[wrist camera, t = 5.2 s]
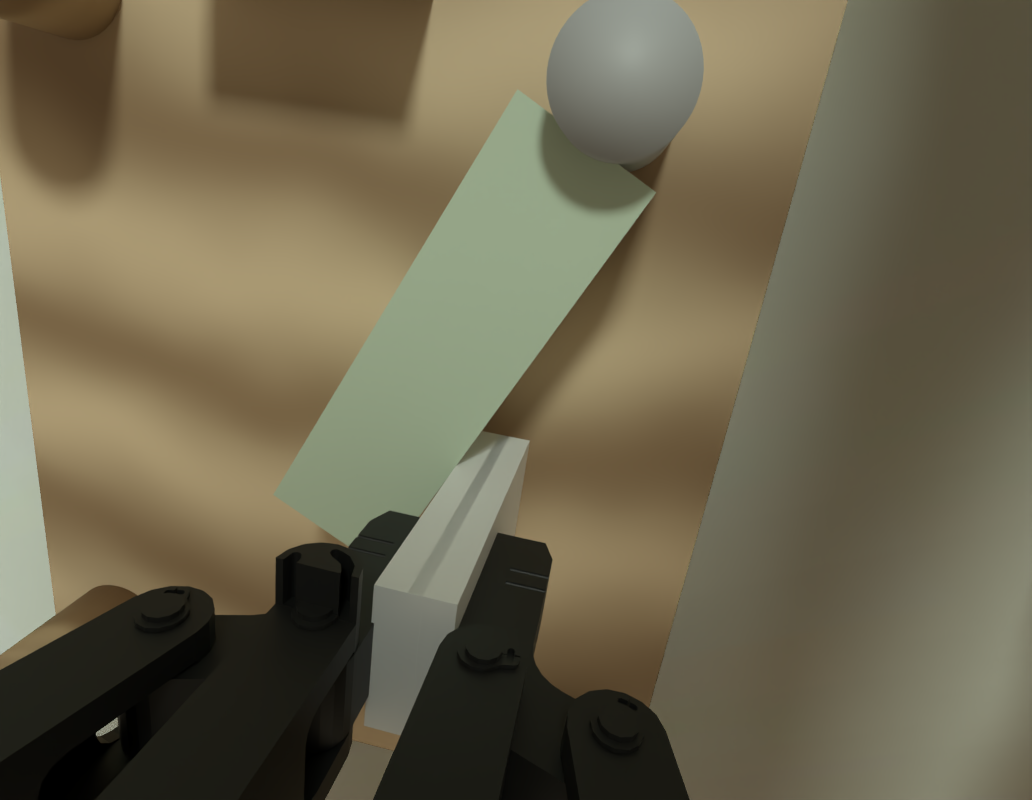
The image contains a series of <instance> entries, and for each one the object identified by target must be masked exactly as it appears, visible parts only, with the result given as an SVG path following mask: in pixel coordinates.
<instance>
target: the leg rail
mask: <svg viewBox="0 0 1032 800" xmlns="http://www.w3.org/2000/svg"><path fill="white" fill-rule="evenodd" d="M703 73H704V58H703V51H702V46H701V42H700V39H699V35H698V33H697V31H696V29H695V26H694V24H693V23H692V21H691V20H690V18H689V16H688V15H687V14H686V13H685V11H684V10H683V9H682V8H681V7H680V6H679V5H678V4H677V3H675V2H674V1H673V0H588V1H587V2H585V3H584V4H583V5H582V6H580V7H579V8H578V9H577V10H576V11H575V12H574V13H573V14H572V15H571V16H570V17H569V19H568V20H567V21H566V23H565V24H564V25H563V27H562V28H561V30H560V32H559V34H558V36H557V37H556V39H555V42H554V44H553V47H552V49H551V53H550V56H549V60H548V66H547V76H546V86H547V96H548V100H549V105H550V108H551V111H552V114H553V115H552V114H550V113H549V112H548V111H546V110H545V109H544V108H542V107H541V106H540V105H538V104H537V103H536V102H534V101H533V100H531V99H530V98H529V97H527V96H526V95H525V94H523V93H522V92H521V91H519V90H518V89H517V91H516V92H515V94H514V96H513V97H512V99H511V101H510V102H509V104H508V106H507V107H506V109H505V111H504V112H503V114H502V116H501V117H500V119H499V121H498V122H497V124H496V126H495V127H494V129H493V131H492V132H491V134H490V136H489V137H488V139H487V141H486V142H485V144H484V146H483V147H482V149H481V151H480V152H479V154H478V156H477V157H476V159H475V161H474V162H473V164H472V166H471V167H470V169H469V171H468V172H467V174H466V175H465V177H464V179H463V180H462V182H461V184H460V185H459V187H458V189H457V190H456V192H455V194H454V195H453V197H452V199H451V200H450V202H449V204H448V205H447V207H446V209H445V210H444V212H443V214H442V215H441V217H440V219H439V220H438V222H437V224H436V225H435V227H434V229H433V230H432V232H431V234H430V235H429V237H428V239H427V240H426V242H425V244H424V245H423V247H422V249H421V250H420V252H419V253H418V255H417V257H416V258H415V260H414V262H413V263H412V265H411V267H410V268H409V270H408V272H407V273H406V275H405V277H404V278H403V280H402V282H401V283H400V285H399V287H398V288H397V290H396V292H395V293H394V295H393V297H392V298H391V300H390V302H389V303H388V305H387V307H386V308H385V310H384V312H383V313H382V315H381V317H380V318H379V320H378V322H377V323H376V325H375V327H374V328H373V330H372V332H371V333H370V335H369V336H368V338H367V340H366V341H365V343H364V345H363V346H362V348H361V350H360V351H359V353H358V355H357V356H356V358H355V360H354V361H353V363H352V365H351V366H350V368H349V370H348V371H347V373H346V375H345V376H344V378H343V380H342V381H341V383H340V385H339V386H338V388H337V390H336V391H335V393H334V395H333V396H332V398H331V400H330V401H329V403H328V405H327V406H326V408H325V410H324V411H323V413H322V414H321V416H320V418H319V419H318V421H317V423H316V424H315V426H314V428H313V429H312V431H311V433H310V434H309V436H308V438H307V439H306V441H305V443H304V444H303V446H302V448H301V449H300V451H299V453H298V454H297V456H296V458H295V459H294V461H293V463H292V464H291V466H290V468H289V469H288V471H287V473H286V474H285V476H284V478H283V479H282V481H281V483H280V484H279V486H278V488H277V489H276V491H275V493H274V494H273V495H274V496H276V497H277V498H279V499H280V500H281V501H283V502H284V503H286V504H287V505H289V506H290V507H292V508H293V509H295V510H296V511H297V512H299V513H300V514H302V515H303V516H305V517H306V518H308V519H309V520H311V521H312V522H313V523H315V524H316V525H318V526H319V527H321V528H322V529H324V530H325V531H327V532H328V533H329V534H331V535H332V536H334V537H335V538H337V539H338V540H340V541H341V542H343V543H344V544H345V545H347V546H348V547H349V545H350V544H351V543H352V541H353V540H354V539H355V538H356V537H358V534H359V533H360V532H361V531H362V530H363V528H364V527H365V526H366V525H367V524H368V522H369V521H370V520H372V519H374V518H376V517H378V516H380V515H382V514H384V513H386V512H388V511H395V512H399V513H404V514H408V515H413V516H417V517H419V516H420V515H421V513H422V512H423V510H424V509H425V508H426V506H427V505H428V504H429V502H430V501H431V500H432V498H433V497H434V495H435V494H436V493H437V491H438V490H439V489H440V487H441V486H442V485H443V483H444V482H445V480H446V479H447V478H448V476H449V475H450V473H451V472H452V471H453V469H454V468H455V466H456V465H457V464H458V463H459V461H460V460H461V459H462V457H463V456H464V454H465V453H466V452H467V450H468V449H469V448H470V446H471V445H472V444H473V442H474V441H475V439H476V438H477V437H478V435H479V434H480V433H481V431H482V430H483V429H484V427H485V426H486V424H487V423H488V422H489V420H490V419H491V418H492V416H493V415H494V413H495V412H496V411H497V409H498V408H499V407H500V405H501V404H502V403H503V401H504V400H505V398H506V397H507V396H508V394H509V393H510V392H511V390H512V389H513V388H514V386H515V385H516V383H517V382H518V381H519V379H520V378H521V377H522V375H523V374H524V372H525V371H526V370H527V368H528V367H529V366H530V364H531V363H532V362H533V360H534V359H535V357H536V356H537V355H538V353H539V352H540V351H541V349H542V348H543V347H544V345H545V344H546V342H547V341H548V340H549V338H550V337H551V336H552V334H553V333H554V331H555V330H556V329H557V327H558V326H559V325H560V323H561V322H562V321H563V319H564V318H565V316H566V315H567V314H568V312H569V311H570V310H571V308H572V307H573V306H574V304H575V303H576V301H577V300H578V299H579V297H580V296H581V295H582V293H583V292H584V290H585V289H586V288H587V286H588V285H589V284H590V282H591V281H592V280H593V278H594V277H595V275H596V274H597V273H598V271H599V270H600V269H601V267H602V266H603V265H604V263H605V262H606V260H607V259H608V258H609V256H610V255H611V254H612V252H613V251H614V249H615V248H616V247H617V245H618V244H619V243H620V241H621V240H622V239H623V237H624V236H625V234H626V233H627V232H628V230H629V229H630V228H631V226H632V225H633V224H634V222H635V221H636V219H637V218H638V217H639V215H640V214H641V213H642V211H643V210H644V208H645V207H646V206H647V204H648V203H649V202H650V200H651V199H652V198H653V196H654V195H655V193H656V192H655V191H654V190H652V189H651V188H650V187H648V186H647V185H646V184H644V183H643V182H642V181H640V180H639V179H638V178H636V177H635V176H634V175H632V174H631V173H630V172H632V171H636V170H638V169H640V168H643V167H645V166H646V165H648V164H650V163H651V162H652V161H654V160H655V159H656V158H657V157H658V156H659V155H660V154H661V153H662V152H663V151H664V149H665V148H666V147H667V146H668V144H669V143H670V142H671V141H672V139H673V138H674V137H675V136H676V134H677V133H678V132H679V131H680V130H681V128H682V127H683V126H684V125H685V123H686V122H687V120H688V118H689V117H690V115H691V114H692V112H693V110H694V107H695V105H696V103H697V100H698V97H699V95H700V91H701V87H702V82H703Z"/></svg>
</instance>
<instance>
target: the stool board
mask: <svg viewBox="0 0 1032 800" xmlns="http://www.w3.org/2000/svg"><path fill="white" fill-rule="evenodd" d="M587 1H588V0H0V177H1V185H2V192H3V200H4V208H5V216H6V224H7V232H8V240H9V248H10V256H11V264H12V272H13V279H14V287H15V295H16V303H17V311H18V319H19V327H20V335H21V343H22V351H23V359H24V366H25V374H26V382H27V390H28V398H29V406H30V414H31V422H32V430H33V438H34V445H35V453H36V461H37V469H38V477H39V485H40V493H41V501H42V509H43V517H44V525H45V532H46V540H47V548H48V556H49V564H50V572H51V580H52V588H53V596H54V604H55V612H56V615H55V616H54V617H52V618H51V619H49V620H48V621H47V622H45V623H44V624H43V625H41V626H40V627H38V628H37V629H36V630H34V631H33V632H32V633H30V634H29V635H27V636H26V637H25V638H23V639H22V640H21V641H19V642H18V643H16V644H15V645H14V646H12V647H11V648H9V649H8V650H7V651H5V652H4V653H3V654H1V655H0V670H1V669H3V668H5V667H6V666H8V665H10V664H12V663H14V662H16V661H17V660H19V659H21V658H23V657H25V656H26V655H28V654H30V653H32V652H34V651H36V650H37V649H39V648H41V647H43V646H45V645H47V644H48V643H50V642H52V641H54V640H56V639H58V638H59V637H61V636H63V635H65V634H67V633H69V632H70V631H72V630H74V629H76V628H78V627H80V626H81V625H83V624H85V623H87V622H89V621H91V620H92V619H94V618H96V617H98V616H100V615H102V614H103V613H105V612H107V611H109V610H111V609H113V608H114V607H116V606H118V605H120V604H122V603H124V602H125V601H127V600H129V599H131V598H133V597H135V596H137V595H140V594H142V593H145V592H147V591H150V590H153V589H158V588H163V587H168V586H190V587H193V588H197V589H200V590H203V591H205V592H206V593H207V594H208V595H209V596H210V597H212V598H213V603H214V608H215V615H256V614H266V613H267V612H268V611H269V610H270V609H271V608H272V607H273V605H274V604H275V573H276V557H277V556H279V555H280V554H282V553H283V552H285V551H286V550H288V549H290V548H293V547H296V546H299V545H303V544H309V543H319V542H323V543H332V544H339V545H341V546H344V547H346V548H348V546H347V545H345V544H344V543H343V542H341V541H340V540H338V539H337V538H335V537H334V536H332V535H331V534H329V533H328V532H327V531H325V530H324V529H322V528H321V527H319V526H318V525H316V524H315V523H313V522H312V521H311V520H309V519H308V518H306V517H305V516H303V515H302V514H300V513H299V512H297V511H296V510H295V509H293V508H292V507H290V506H289V505H287V504H286V503H284V502H283V501H281V500H280V499H279V498H277V497H276V496H274V495H273V494H274V493H275V491H276V489H277V488H278V486H279V484H280V483H281V481H282V479H283V478H284V476H285V474H286V473H287V471H288V469H289V468H290V466H291V464H292V463H293V461H294V459H295V458H296V456H297V454H298V453H299V451H300V449H301V448H302V446H303V444H304V443H305V441H306V439H307V438H308V436H309V434H310V433H311V431H312V429H313V428H314V426H315V424H316V423H317V421H318V419H319V418H320V416H321V414H322V413H323V411H324V410H325V408H326V406H327V405H328V403H329V401H330V400H331V398H332V396H333V395H334V393H335V391H336V390H337V388H338V386H339V385H340V383H341V381H342V380H343V378H344V376H345V375H346V373H347V371H348V370H349V368H350V366H351V365H352V363H353V361H354V360H355V358H356V356H357V355H358V353H359V351H360V350H361V348H362V346H363V345H364V343H365V341H366V340H367V338H368V336H369V335H370V333H371V332H372V330H373V328H374V327H375V325H376V323H377V322H378V320H379V318H380V317H381V315H382V313H383V312H384V310H385V308H386V307H387V305H388V303H389V302H390V300H391V298H392V297H393V295H394V293H395V292H396V290H397V288H398V287H399V285H400V283H401V282H402V280H403V278H404V277H405V275H406V273H407V272H408V270H409V268H410V267H411V265H412V263H413V262H414V260H415V258H416V257H417V255H418V253H419V252H420V250H421V249H422V247H423V245H424V244H425V242H426V240H427V239H428V237H429V235H430V234H431V232H432V230H433V229H434V227H435V225H436V224H437V222H438V220H439V219H440V217H441V215H442V214H443V212H444V210H445V209H446V207H447V205H448V204H449V202H450V200H451V199H452V197H453V195H454V194H455V192H456V190H457V189H458V187H459V185H460V184H461V182H462V180H463V179H464V177H465V175H466V174H467V172H468V171H469V169H470V167H471V166H472V164H473V162H474V161H475V159H476V157H477V156H478V154H479V152H480V151H481V149H482V147H483V146H484V144H485V142H486V141H487V139H488V137H489V136H490V134H491V132H492V131H493V129H494V127H495V126H496V124H497V122H498V121H499V119H500V117H501V116H502V114H503V112H504V111H505V109H506V107H507V106H508V104H509V102H510V101H511V99H512V97H513V96H514V94H515V92H516V91H517V89H518V90H519V91H521V92H522V93H523V94H525V95H526V96H527V97H529V98H530V99H531V100H533V101H534V102H536V103H537V104H538V105H540V106H541V107H542V108H544V109H545V110H546V111H548V112H549V113H550V114H552V111H551V108H550V105H549V100H548V96H547V86H546V76H547V66H548V60H549V56H550V53H551V49H552V47H553V44H554V42H555V39H556V37H557V36H558V34H559V32H560V30H561V28H562V27H563V25H564V24H565V23H566V21H567V20H568V19H569V17H570V16H571V15H572V14H573V13H574V12H575V11H576V10H577V9H578V8H579V7H580V6H582V5H583V4H584V3H585V2H587ZM673 1H674V2H675V3H677V4H678V5H679V6H680V7H681V8H682V9H683V10H684V11H685V13H686V14H687V15H688V16H689V18H690V20H691V21H692V23H693V24H694V26H695V29H696V31H697V33H698V35H699V39H700V42H701V46H702V51H703V58H704V73H703V82H702V87H701V91H700V95H699V97H698V100H697V103H696V105H695V107H694V110H693V112H692V114H691V115H690V117H689V118H688V120H687V122H686V123H685V125H684V126H683V127H682V128H681V130H680V131H679V132H678V133H677V134H676V136H675V137H674V138H673V139H672V141H671V142H670V143H669V144H668V146H667V147H666V148H665V149H664V151H663V152H662V153H661V154H660V155H659V156H658V157H657V158H656V159H655V160H654V161H652V162H651V163H650V164H648V165H646V166H645V167H643V168H640V169H638V170H636V171H632V172H630V173H631V174H632V175H634V176H635V177H636V178H638V179H639V180H640V181H642V182H643V183H644V184H646V185H647V186H648V187H650V188H651V189H652V190H654V191H655V192H656V193H655V195H654V196H653V198H652V199H651V200H650V202H649V203H648V204H647V206H646V207H645V208H644V210H643V211H642V213H641V214H640V215H639V217H638V218H637V219H636V221H635V222H634V224H633V225H632V226H631V228H630V229H629V230H628V232H627V233H626V234H625V236H624V237H623V239H622V240H621V241H620V243H619V244H618V245H617V247H616V248H615V249H614V251H613V252H612V254H611V255H610V256H609V258H608V259H607V260H606V262H605V263H604V265H603V266H602V267H601V269H600V270H599V271H598V273H597V274H596V275H595V277H594V278H593V280H592V281H591V282H590V284H589V285H588V286H587V288H586V289H585V290H584V292H583V293H582V295H581V296H580V297H579V299H578V300H577V301H576V303H575V304H574V306H573V307H572V308H571V310H570V311H569V312H568V314H567V315H566V316H565V318H564V319H563V321H562V322H561V323H560V325H559V326H558V327H557V329H556V330H555V331H554V333H553V334H552V336H551V337H550V338H549V340H548V341H547V342H546V344H545V345H544V347H543V348H542V349H541V351H540V352H539V353H538V355H537V356H536V357H535V359H534V360H533V362H532V363H531V364H530V366H529V367H528V368H527V370H526V371H525V372H524V374H523V375H522V377H521V378H520V379H519V381H518V382H517V383H516V385H515V386H514V388H513V389H512V390H511V392H510V393H509V394H508V396H507V397H506V398H505V400H504V401H503V403H502V404H501V405H500V407H499V408H498V409H497V411H496V412H495V413H494V415H493V416H492V418H491V419H490V420H489V422H488V423H487V424H486V426H485V427H484V429H483V430H482V431H484V432H489V433H494V434H499V435H504V436H509V437H514V438H519V439H524V440H529V441H530V442H529V449H528V455H527V461H526V468H525V474H524V480H523V487H522V493H521V499H520V505H519V512H518V518H517V524H516V531H515V537H520V538H524V539H529V540H533V541H538V542H542V543H546V545H547V548H548V550H549V552H550V555H551V557H552V559H553V560H552V566H551V571H550V577H549V582H548V587H547V593H546V598H545V604H544V609H543V615H542V620H541V625H540V629H539V634H538V638H537V643H536V648H535V652H534V660H535V663H536V666H537V667H538V669H539V671H540V672H541V674H542V675H543V676H544V677H545V678H546V679H547V680H548V681H549V682H550V683H551V684H552V685H553V686H555V687H556V688H558V689H559V690H561V691H562V692H564V693H566V694H568V695H569V696H571V697H573V698H575V699H576V698H578V697H579V696H581V695H583V694H585V693H587V692H588V691H593V690H602V689H609V690H613V691H618V692H623V693H626V694H628V695H630V696H632V697H634V698H635V699H637V700H639V701H641V702H643V703H644V704H645V705H646V706H647V707H648V708H649V706H650V702H651V698H652V695H653V691H654V688H655V684H656V681H657V677H658V674H659V670H660V666H661V663H662V659H663V656H664V652H665V649H666V645H667V642H668V638H669V634H670V631H671V627H672V624H673V620H674V617H675V613H676V610H677V606H678V602H679V599H680V595H681V592H682V588H683V585H684V581H685V578H686V574H687V570H688V567H689V563H690V560H691V556H692V553H693V549H694V546H695V542H696V538H697V535H698V531H699V528H700V524H701V521H702V517H703V514H704V510H705V506H706V503H707V499H708V496H709V492H710V489H711V485H712V482H713V478H714V474H715V471H716V467H717V464H718V460H719V457H720V453H721V450H722V446H723V442H724V439H725V435H726V432H727V428H728V425H729V421H730V418H731V414H732V410H733V407H734V403H735V400H736V396H737V393H738V389H739V386H740V382H741V378H742V375H743V371H744V368H745V364H746V361H747V357H748V354H749V350H750V347H751V343H752V339H753V336H754V332H755V329H756V325H757V322H758V318H759V315H760V311H761V307H762V304H763V300H764V297H765V293H766V290H767V286H768V283H769V279H770V275H771V272H772V268H773V265H774V261H775V258H776V254H777V251H778V247H779V243H780V240H781V236H782V233H783V229H784V226H785V222H786V219H787V215H788V211H789V208H790V204H791V201H792V197H793V194H794V190H795V187H796V183H797V179H798V176H799V172H800V169H801V165H802V162H803V158H804V155H805V151H806V147H807V144H808V140H809V137H810V133H811V130H812V126H813V123H814V119H815V115H816V112H817V108H818V105H819V101H820V98H821V94H822V91H823V87H824V83H825V80H826V76H827V73H828V69H829V66H830V62H831V59H832V55H833V51H834V48H835V44H836V41H837V37H838V34H839V30H840V27H841V23H842V19H843V16H844V12H845V9H846V5H847V2H848V0H673ZM552 115H553V114H552ZM445 481H446V480H445ZM443 484H444V483H443ZM441 487H442V486H441ZM441 487H440V488H441ZM438 491H439V490H438ZM438 491H437V492H438ZM436 494H437V493H436ZM436 494H435V495H436ZM435 495H434V497H435ZM434 497H433V498H434ZM433 498H432V500H433ZM432 500H431V501H432ZM431 501H430V502H429V504H430V503H431ZM429 504H428V505H427V506H426V508H427V507H428V506H429ZM426 508H425V509H424V510H423V512H422V513H421V515H420V516H419V517H421V516H422V514H423V513H424V511H425V510H426ZM365 703H366V702H365ZM365 703H364V705H363V707H362V709H361V711H360V713H359V715H358V716H357V718H356V720H355V722H354V724H353V734H352V740H354V741H358V742H362V743H366V744H369V745H373V746H377V747H381V748H385V749H388V750H392V751H394V750H395V747H396V745H397V743H398V740H399V738H400V735H397V734H393V733H389V732H386V731H382V730H378V729H375V728H371V727H367V726H364V717H365Z"/></svg>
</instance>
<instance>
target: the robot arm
mask: <svg viewBox="0 0 1032 800" xmlns="http://www.w3.org/2000/svg"><path fill="white" fill-rule="evenodd" d="M529 442H530V441H529V440H524V439H519V438H514V437H509V436H504V435H499V434H494V433H489V432H484V431H481V433H480V434H479V435H478V437H477V438H476V439H475V441H474V442H473V444H472V445H471V446H470V448H469V449H468V450H467V452H466V453H465V454H464V456H463V457H462V459H461V460H460V461H459V463H458V464H457V465H456V466H455V468H454V469H453V471H452V472H451V473H450V475H449V476H448V478H447V479H446V481H445V482H444V484H443V485H442V487H441V488H440V489H439V491H438V492H437V494H436V495H435V497H434V498H433V500H432V501H431V503H430V504H429V506H428V507H427V508H426V510H425V511H424V513H423V514H422V516H421V517H417V516H413V515H408V514H404V513H399V512H395V511H388V512H386V513H384V514H382V515H380V516H378V517H376V518H374V519H372V520H370V521H369V522H368V524H367V525H366V526H365V527H364V528H363V530H362V531H361V532H360V533H359V534H358V537H356V538H355V539H354V540H353V541H352V543H351V544H350V545H349V547H348V548H346V547H344V546H341V545H339V544H332V543H323V542H319V543H309V544H303V545H299V546H296V547H293V548H290V549H288V550H286V551H285V552H283V553H282V554H280V555H279V556H277V557H276V573H275V604H274V605H273V607H272V608H271V609H270V610H269V611H268V612H267V613H266V614H256V615H215V608H214V603H213V598H212V597H210V596H209V595H208V594H207V593H206V592H205V591H203V590H200V589H197V588H193V587H190V586H168V587H163V588H158V589H153V590H150V591H147V592H145V593H142V594H140V595H137V596H135V597H133V598H131V599H129V600H127V601H125V602H124V603H122V604H120V605H118V606H116V607H114V608H113V609H111V610H109V611H107V612H105V613H103V614H102V615H100V616H98V617H96V618H94V619H92V620H91V621H89V622H87V623H85V624H83V625H81V626H80V627H78V628H76V629H74V630H72V631H70V632H69V633H67V634H65V635H63V636H61V637H59V638H58V639H56V640H54V641H52V642H50V643H48V644H47V645H45V646H43V647H41V648H39V649H37V650H36V651H34V652H32V653H30V654H28V655H26V656H25V657H23V658H21V659H19V660H17V661H16V662H14V663H12V664H10V665H8V666H6V667H5V668H3V669H1V670H0V800H325V798H326V796H327V794H328V793H329V791H330V789H331V787H332V785H333V783H334V781H335V779H336V777H337V775H338V774H339V772H340V770H341V768H342V766H343V764H344V762H345V760H346V758H347V757H348V754H349V751H350V747H351V744H352V734H353V724H354V722H355V720H356V718H357V716H358V715H359V713H360V711H361V709H362V707H363V705H364V703H365V702H366V703H365V717H364V726H367V727H371V728H375V729H378V730H382V731H386V732H389V733H393V734H397V735H400V738H399V740H398V743H397V745H396V747H395V750H394V752H393V754H392V757H391V759H390V761H389V764H388V766H387V768H386V771H385V773H384V775H383V778H382V780H381V782H380V785H379V787H378V789H377V792H376V794H375V796H374V799H373V800H689V797H688V794H687V791H686V788H685V785H684V782H683V779H682V777H681V774H680V771H679V768H678V765H677V762H676V759H675V757H674V754H673V751H672V748H671V745H670V742H669V739H668V737H667V734H666V731H665V729H664V728H663V726H662V724H661V722H660V721H659V719H658V717H657V715H656V714H655V713H653V712H652V711H651V710H650V709H649V708H648V707H647V706H646V705H645V704H644V703H643V702H641V701H639V700H637V699H635V698H634V697H632V696H630V695H628V694H626V693H623V692H618V691H613V690H609V689H602V690H593V691H588V692H587V693H585V694H583V695H581V696H579V697H578V698H576V699H575V698H573V697H571V696H569V695H568V694H566V693H564V692H562V691H561V690H559V689H558V688H556V687H555V686H553V685H552V684H551V683H550V682H549V681H548V680H547V679H546V678H545V677H544V676H543V675H542V674H541V672H540V671H539V669H538V667H537V666H536V663H535V660H534V652H535V648H536V643H537V638H538V634H539V629H540V625H541V620H542V615H543V609H544V604H545V598H546V593H547V587H548V582H549V577H550V571H551V566H552V560H553V559H552V557H551V555H550V552H549V550H548V548H547V545H546V543H542V542H538V541H533V540H529V539H524V538H520V537H515V531H516V524H517V518H518V512H519V505H520V499H521V493H522V487H523V480H524V474H525V468H526V461H527V455H528V449H529ZM117 717H118V725H119V726H118V727H116V728H115V729H114V730H112V731H110V732H108V733H106V734H104V735H102V736H96V732H97V731H99V730H100V729H101V728H103V727H104V726H106V725H107V724H108V723H110V722H111V721H113V720H114V719H116V718H117Z"/></svg>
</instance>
